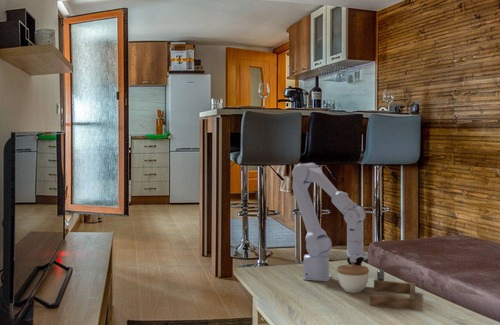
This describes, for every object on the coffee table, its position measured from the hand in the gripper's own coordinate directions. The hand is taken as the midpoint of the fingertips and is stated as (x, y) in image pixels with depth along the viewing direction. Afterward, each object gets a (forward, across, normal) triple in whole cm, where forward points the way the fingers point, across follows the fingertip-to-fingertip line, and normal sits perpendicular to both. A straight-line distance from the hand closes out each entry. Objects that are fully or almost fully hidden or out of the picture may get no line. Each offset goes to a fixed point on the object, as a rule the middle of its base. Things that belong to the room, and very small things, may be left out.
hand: (355, 277), depth 180 cm
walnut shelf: (+2, -13, -13) cm, 18 cm away
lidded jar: (+3, -7, 0) cm, 8 cm away
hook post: (+2, -3, -9) cm, 10 cm away
